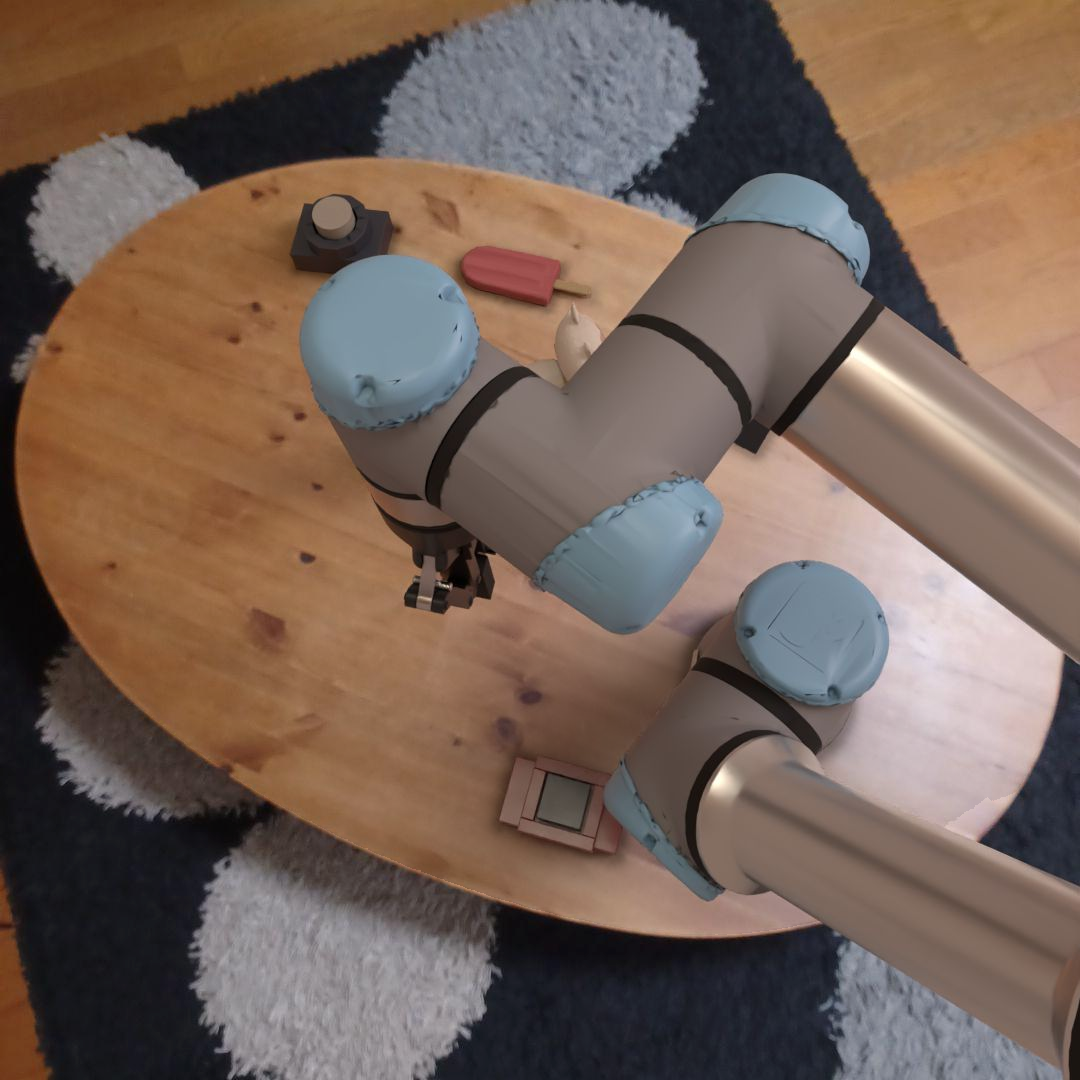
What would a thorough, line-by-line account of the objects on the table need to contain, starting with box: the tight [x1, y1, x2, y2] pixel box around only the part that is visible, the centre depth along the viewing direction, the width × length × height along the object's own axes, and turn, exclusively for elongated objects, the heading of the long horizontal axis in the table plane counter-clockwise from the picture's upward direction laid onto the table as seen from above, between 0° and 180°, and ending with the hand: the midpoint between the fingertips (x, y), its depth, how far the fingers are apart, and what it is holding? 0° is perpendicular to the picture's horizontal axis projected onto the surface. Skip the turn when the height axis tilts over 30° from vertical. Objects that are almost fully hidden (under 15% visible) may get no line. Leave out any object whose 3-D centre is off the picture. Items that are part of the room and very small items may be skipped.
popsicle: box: [461, 245, 592, 307], centre depth 113 cm, size 5×2×15 cm
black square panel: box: [536, 773, 591, 831], centre depth 90 cm, size 4×4×2 cm
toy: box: [523, 301, 606, 389], centre depth 101 cm, size 9×19×15 cm, turn 112°
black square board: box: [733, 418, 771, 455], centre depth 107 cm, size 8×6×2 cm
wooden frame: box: [497, 754, 623, 856], centre depth 92 cm, size 11×7×4 cm, turn 75°
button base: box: [289, 193, 394, 275], centre depth 114 cm, size 10×7×5 cm
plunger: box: [312, 196, 355, 240], centre depth 111 cm, size 4×4×2 cm
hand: (475, 587), depth 78 cm, fingers closed
